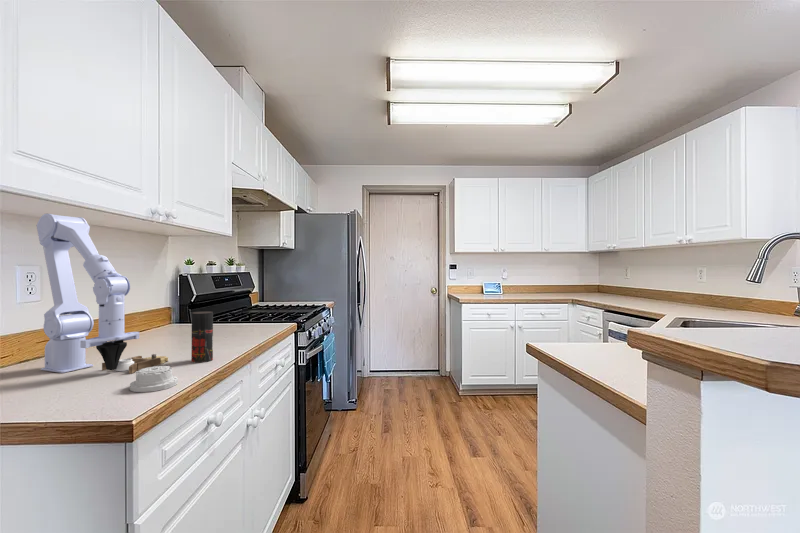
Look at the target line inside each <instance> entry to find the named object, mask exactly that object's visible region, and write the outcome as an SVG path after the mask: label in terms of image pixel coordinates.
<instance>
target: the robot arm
mask: <svg viewBox="0 0 800 533" xmlns="http://www.w3.org/2000/svg"><path fill="white" fill-rule="evenodd" d="M90 229H91V226H90V224H88V222H87V220H86V219H85V218H84V217H82V216H67V215H60V214H52V213H44V214H42V215H41V216H40V217H39V219H38V222H37V224H36V230H37V236H38V241H39V244H40V245H41V246H42V248H43V253H44V260H45V264H46V269H47V274H48V280H49V281H48V282H49V285H50V291H51V295H52V300H53V306H52V307H51V308H49V309H48V310H47V311H46V312H44V314H43V317H44V318H43V319H44V323H43V332H44V334H45V335H46V336H47V338H49V340H48V341H47V342H46V344H45V346H44V367H42V368H40V371H45V372H46V371H47V372H55V373H61V374H62V373H68V372H73V371H77V370H82V369H86V368H87V369H88V368H91V367H93V366H94V364H91V363H86V359H87V356H86V352H87V350H86V349H88V348H91V347H95V348H96V350H97V351H98V353H99V354H100V355H101V357H102V359H103V360H102V361H103V363H105V366H106V369H107V370H106V371H115V369H117V365H118V362H119V360H121V356H122V354H123V352H124V351H125V349H126V347H127V346H128V342H125V341H131V340H137V339H140V331H130V332H125V324H126V323H125V311H126V308H125V307H126V306H125V305H126V302H125V300H126V298H125V296H127V295H128V294H129V293H130V290H131V283H130V281H129V279H128V277H127V276H125V275H122V274H121V273H119V272H117V271H116V269H115V267H114V266H113V264H112V263H111V262H110V260H109V258H108V257H107V256H106V255H103V254H99V252H98V249H97V246H96V245H95V244H94V241H93V240H92V238H91V236H90ZM71 248H75V249H76V251H77V252H78V253H79V254H80V255H81V257H82V258H83V259H84V262H83V263H82V266H83V268H84V269H85V271H86V272H87V274H88V275H89V277H90V278H91V280H92V281H93V283H94V285H93V286H92V292H93V294H94V295H95V302H96V304H97V305H98V336H96V337H90V338H86V337H89V333H90V332H91V331H92V330H93V328H94V323H95V322H94V318H93V316H92V315H91V314H90V310H89V307H88V306H86V305H84V304H82V303H81V302H79V300H78V293H77V289H76V285H75V284H76V283H75V279H74V274H73V269H72V264H71V259H70V254H69V250H70V249H71Z"/></svg>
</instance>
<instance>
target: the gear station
mask: <svg viewBox="0 0 800 533" xmlns="http://www.w3.org/2000/svg"><path fill="white" fill-rule="evenodd" d="M126 359H132V361H134V364H132V365H131V366H129V371H128V374H129V375H132V374H134V373H136V372H137V371H139V370H141V369H144V368H148V367H154V366H162V364H164V363H166V362H169V357H168V356H166V355H157V354H156V353H152V354H151V356H148V357H143V356H142V355H137V356H132V357H128V358H126ZM118 363H119V362H118ZM101 371H108V370H107V369H106V366H105V362H101Z"/></svg>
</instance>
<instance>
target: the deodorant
mask: <svg viewBox="0 0 800 533" xmlns="http://www.w3.org/2000/svg"><path fill="white" fill-rule="evenodd" d="M213 360H214V311H193V312H191V362H192V363H195V364H202V363H208V362H211V361H213Z"/></svg>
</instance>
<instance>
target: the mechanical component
mask: <svg viewBox="0 0 800 533" xmlns="http://www.w3.org/2000/svg"><path fill="white" fill-rule="evenodd" d="M176 384H177V385H178V384H179V378H178V377H177V376H175V375H173V367H171V366H170V365H168V366H167V365H157V366H153V367H148V368H144V369H141V370H137V371H136V372H135V380H134V381H132V382H130V384H129V390H130V391H131V392H133V393H134V392H135V393H136V392H137V393H149V392H150V393H151V392H156V391H161V390H166V389H167V390H168V389H170V388H173V387H175V386H177V385H176Z"/></svg>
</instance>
